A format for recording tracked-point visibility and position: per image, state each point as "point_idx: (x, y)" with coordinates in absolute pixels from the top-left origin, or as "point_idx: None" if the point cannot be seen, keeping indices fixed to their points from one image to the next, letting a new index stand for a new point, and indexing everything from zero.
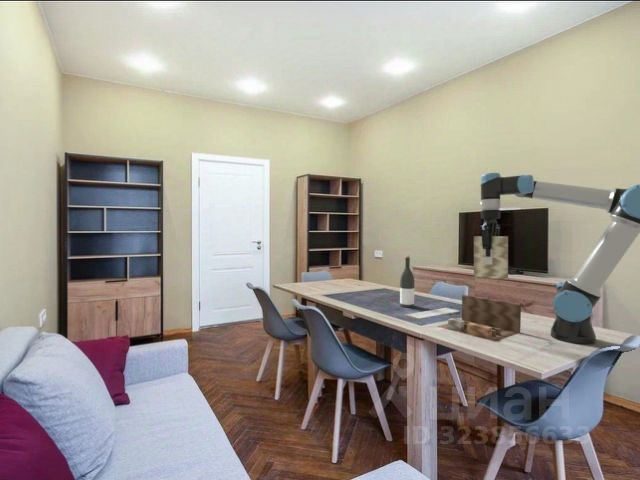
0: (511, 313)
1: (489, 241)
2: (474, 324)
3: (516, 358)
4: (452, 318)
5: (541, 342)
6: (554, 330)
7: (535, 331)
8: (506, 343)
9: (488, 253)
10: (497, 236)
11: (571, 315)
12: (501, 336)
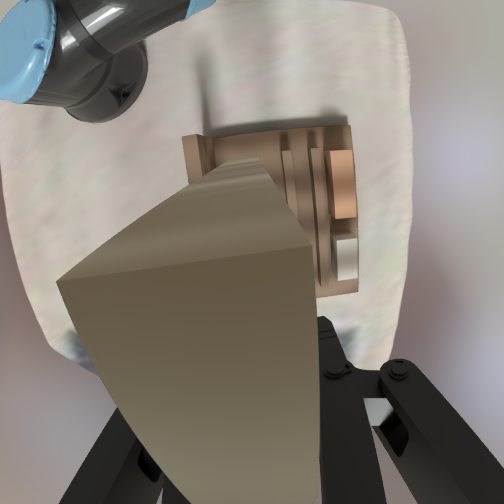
0: (206, 162)
1: (371, 449)
2: (345, 199)
3: (378, 57)
4: (340, 277)
5: (208, 81)
6: (122, 97)
7: (123, 152)
8: (303, 119)
9: (336, 339)
10: (316, 501)
11: None
12: (290, 141)
